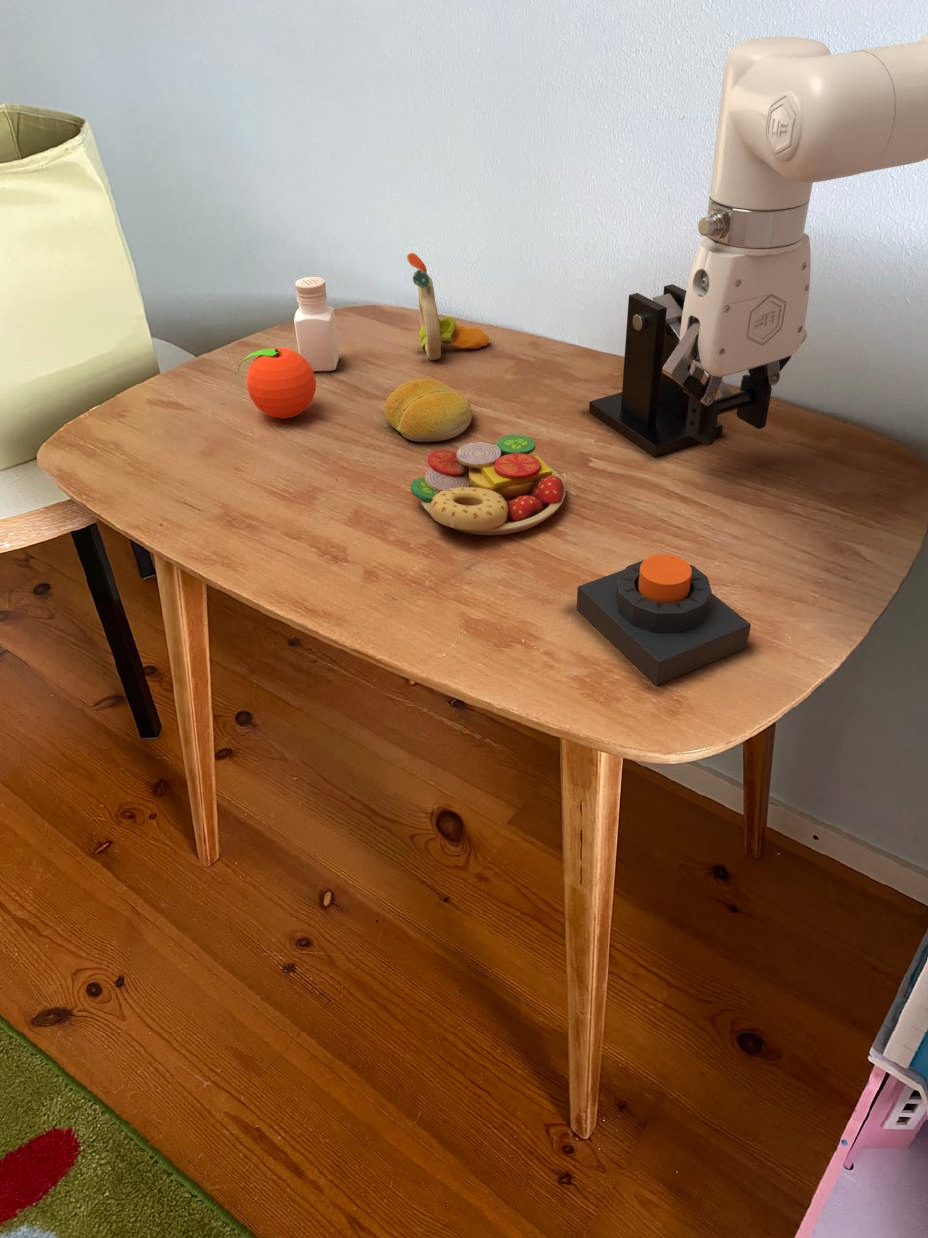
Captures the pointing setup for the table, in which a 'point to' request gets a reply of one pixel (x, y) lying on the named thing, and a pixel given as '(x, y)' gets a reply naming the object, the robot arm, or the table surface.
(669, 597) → the button
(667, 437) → the bracket
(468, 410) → the bread roll
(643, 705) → the table surface
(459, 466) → the toy food set
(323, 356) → the salt shaker
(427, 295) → the rattle
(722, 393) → the lever
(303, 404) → the clementine
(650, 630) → the control block
